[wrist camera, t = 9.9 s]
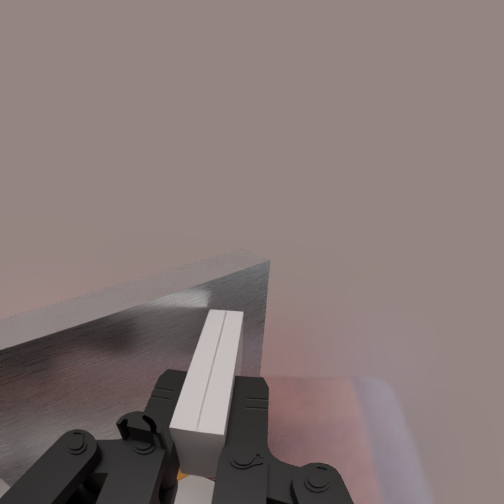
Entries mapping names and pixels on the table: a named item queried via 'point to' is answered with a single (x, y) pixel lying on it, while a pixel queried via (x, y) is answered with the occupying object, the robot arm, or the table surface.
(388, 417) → the table surface
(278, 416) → the table surface
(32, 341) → the brushed metal plate
